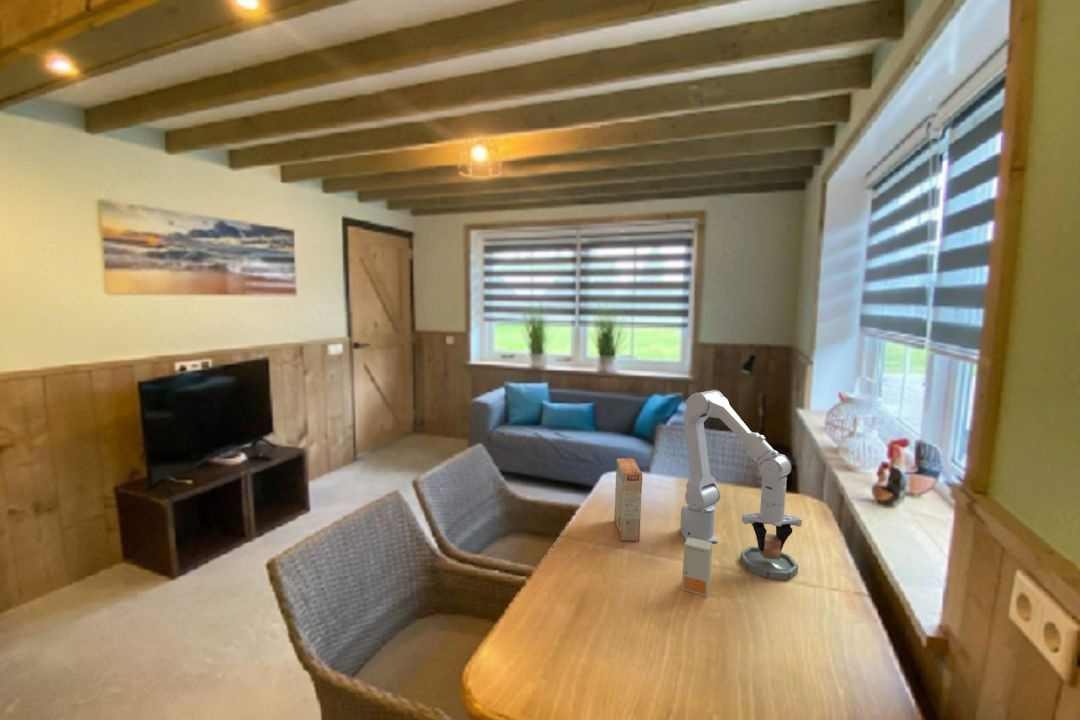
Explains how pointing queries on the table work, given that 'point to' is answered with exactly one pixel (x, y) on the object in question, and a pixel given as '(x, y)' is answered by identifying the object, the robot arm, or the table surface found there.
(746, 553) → the dish
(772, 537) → the block
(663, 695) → the table surface
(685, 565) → the skincare box
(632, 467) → the cracker box
